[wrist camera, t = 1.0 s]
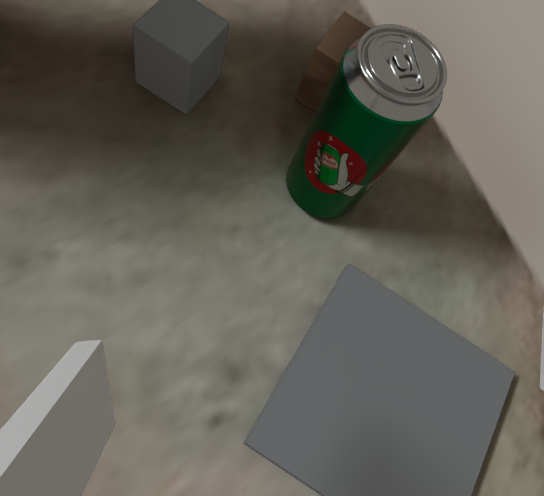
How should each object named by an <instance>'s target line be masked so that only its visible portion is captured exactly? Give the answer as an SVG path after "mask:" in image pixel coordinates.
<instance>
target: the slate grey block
mask: <svg viewBox="0 0 544 496" xmlns="http://www.w3.org/2000/svg"><path fill="white" fill-rule="evenodd" d="M229 24H230V22H228V21H227V20H225V19H224V18H222V17H220V16H219V15H217V14H216V13H214V12H213V11H211V10H210V9H208V8H207V7H205V6H204V5H202V4H200V3H199V2H197V1H196V0H159V1H158V2H157V3H156V4H155V5H154V6H153V7H151V8H150V9H149V10H148V11H147V12H146V13H145V14H144V15H143V16H142V17H141V18H140V19H138V20H137V21H136V22H135V23H134V24H133V36H134V56H135V77H136V82H137V83H138V84H140V85H141V86H143V87H144V88H146V89H147V90H149V91H150V92H152V93H154V94H155V95H157V96H158V97H160V98H161V99H163V100H164V101H166V102H167V103H169V104H170V105H172V106H173V107H175V108H176V109H178V110H179V111H181V112H183V113H184V114H186V115H187V114H188V113H189V112H190V110H191V109H192V108H193V107H194V106H195V105H196V104H197V103H198V101H199V100H200V99H201V98H202V97H203V96H204V95H205V94H206V92H207V91H208V90H209V89H210V88H211V87H212V86H213V85H214V84H215V82H216V81H217V80H218V79H219V78H220V74H221V68H222V63H223V57H224V52H225V46H226V41H227V35H228V30H229Z"/></svg>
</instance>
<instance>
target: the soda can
mask: <svg viewBox="0 0 544 496" xmlns="http://www.w3.org/2000/svg"><path fill="white" fill-rule="evenodd" d="M446 80H447V69H446V65H445V62H444V59H443V57H442V55H441V53H440V52H439V50H438V49H437V48H436V46H435V45H434V44H433V43H432V42H431V41H429V40H428V39H427V38H426V37H425V36H423V35H422V34H420V33H418V32H417V31H415V30H413V29H410V28H408V27H405V26H401V25H393V24H384V25H379V26H376V27H373V28H371V29H370V30H368V31H367V32H366V33H365V34H364V35H363V36H362V37H361V38H359V39H358V40H356V41H354V42H353V43H352V44H351V45H349V47H348V48H347V49H346V50H345V52H344V54H343V56H342V58H341V60H340V62H339V65H338V67H337V69H336V71H335V73H334V75H333V77H332V79H331V81H330V83H329V85H328V87H327V89H326V91H325V93H324V95H323V97H322V99H321V101H320V104H319V106H318V108H317V110H316V112H315V114H314V116H313V118H312V120H311V122H310V124H309V126H308V128H307V130H306V132H305V134H304V136H303V138H302V140H301V143H300V145H299V147H298V149H297V151H296V153H295V155H294V157H293V159H292V161H291V163H290V165H289V167H288V170H287V175H286V182H287V187H288V191H289V193H290V195H291V197H292V198H293V200H294V201H295V202H296V204H297V205H298V206H299V207H300V208H302V209H303V210H304V211H306V212H307V213H309V214H311V215H313V216H316V217H320V218H327V219H332V218H338V217H341V216H344V215H346V214H348V213H349V212H350V211H352V210H353V208H354V207H355V206H356V205H357V204H358V203H359V201H360V200H361V199H362V198H363V197H364V196H365V194H366V193H367V192H368V191H369V190H370V189H371V187H372V186H373V185H374V184H375V183H376V181H377V180H378V179H379V178H380V177H381V176H382V174H383V173H384V172H385V171H386V170H387V168H388V167H389V166H390V165H391V164H392V163H393V161H394V160H395V159H396V158H397V157H398V156H399V154H400V153H401V152H402V151H403V150H404V148H405V147H406V146H407V145H408V144H409V143H410V141H411V140H412V139H413V138H414V137H415V135H416V134H417V133H418V132H419V131H420V130H421V128H422V127H423V126H424V125H425V124H426V123H427V121H428V120H429V119H430V118H431V117H432V115H433V114H434V113H435V112H436V111H437V109H438V107H439V106H440V103H441V100H442V93H443V91H442V90H443V89H444V87H445V83H446Z"/></svg>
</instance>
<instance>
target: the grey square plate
mask: <svg viewBox="0 0 544 496" xmlns="http://www.w3.org/2000/svg"><path fill="white" fill-rule="evenodd" d="M514 374H515V372H514V371H513V370H511V369H510V368H508V367H507V366H505V365H504V364H502V363H501V362H499V361H498V360H496V359H495V358H493V357H492V356H490V355H489V354H487V353H486V352H484V351H482V350H481V349H479V348H478V347H476V346H475V345H473V344H472V343H470V342H469V341H467V340H466V339H464V338H463V337H461V336H460V335H458V334H457V333H455V332H454V331H452V330H450V329H449V328H447V327H446V326H444V325H443V324H441V323H440V322H438V321H437V320H435V319H434V318H432V317H431V316H429V315H428V314H426V313H425V312H423V311H422V310H420V309H418V308H417V307H415V306H414V305H412V304H411V303H409V302H408V301H406V300H405V299H403V298H402V297H400V296H399V295H397V294H396V293H394V292H393V291H391V290H390V289H388V288H386V287H385V286H383V285H382V284H380V283H379V282H377V281H376V280H374V279H373V278H371V277H370V276H368V275H367V274H365V273H364V272H362V271H361V270H359V269H358V268H356V267H355V266H353V265H351V264H350V263H349V264H348V265H347V266H346V267H345V268H344V270H343V272H342V273H341V275H340V277H339V279H338V280H337V282H336V284H335V286H334V287H333V289H332V291H331V293H330V294H329V296H328V298H327V299H326V301H325V303H324V305H323V306H322V308H321V310H320V312H319V313H318V315H317V317H316V319H315V320H314V322H313V324H312V325H311V327H310V329H309V331H308V332H307V334H306V336H305V338H304V339H303V341H302V343H301V344H300V346H299V348H298V350H297V351H296V353H295V355H294V357H293V358H292V360H291V362H290V364H289V365H288V367H287V369H286V370H285V372H284V374H283V376H282V377H281V379H280V381H279V383H278V384H277V386H276V388H275V390H274V391H273V393H272V395H271V396H270V398H269V400H268V402H267V403H266V405H265V407H264V409H263V410H262V412H261V414H260V416H259V417H258V419H257V421H256V422H255V424H254V426H253V428H252V429H251V431H250V433H249V435H248V436H247V438H246V440H245V442H244V444H245V445H247V446H248V447H250V448H251V449H253V450H254V451H256V452H257V453H259V454H260V455H262V456H263V457H265V458H266V459H268V460H269V461H271V462H272V463H274V464H275V465H277V466H278V467H280V468H281V469H283V470H284V471H286V472H287V473H289V474H290V475H292V476H293V477H295V478H296V479H298V480H299V481H301V482H302V483H304V484H305V485H307V486H308V487H310V488H311V489H313V490H314V491H316V492H317V493H319V494H320V495H322V496H471V495H472V492H473V489H474V486H475V484H476V481H477V478H478V475H479V472H480V469H481V467H482V464H483V461H484V458H485V455H486V453H487V450H488V447H489V444H490V441H491V438H492V436H493V433H494V430H495V427H496V424H497V422H498V419H499V416H500V413H501V410H502V408H503V405H504V402H505V399H506V396H507V393H508V391H509V388H510V385H511V382H512V379H513V377H514Z"/></svg>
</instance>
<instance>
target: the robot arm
mask: <svg viewBox="0 0 544 496" xmlns="http://www.w3.org/2000/svg"><path fill="white" fill-rule="evenodd" d="M540 388H541V389H542V390H543V391H544V313H543V333H542V353H541V373H540ZM114 426H115V417H114V411H113V405H112V399H111V392H110V386H109V380H108V373H107V367H106V361H105V354H104V348H103V342H102V340H93V341H81V342H75V344H74V345H73V346H72V347H71V348H70V349H69V351H68V352H67V353H66V354H65V355H64V356H63V358H62V359H61V360H60V361H59V362H58V363H57V365H56V366H55V367H54V368H53V369H52V370H51V371H50V373H49V374H48V375H47V376H46V377H45V378H44V380H43V381H42V382H41V383H40V384H39V385H38V387H37V388H36V389H35V390H34V391H33V392H32V394H31V395H30V396H29V397H28V398H27V399H26V401H25V402H24V403H23V404H22V405H21V406H20V408H19V409H18V410H17V411H16V412H15V413H14V414H13V416H12V417H11V418H10V419H9V420H8V421H7V423H6V424H5V425H4V426H3V427H2V428H1V430H0V496H81V495H82V493H83V491H84V489H85V487H86V485H87V482H88V480H89V478H90V476H91V474H92V472H93V470H94V468H95V466H96V464H97V462H98V459H99V457H100V455H101V453H102V451H103V449H104V447H105V445H106V443H107V441H108V439H109V437H110V434H111V432H112V430H113V428H114Z"/></svg>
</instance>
